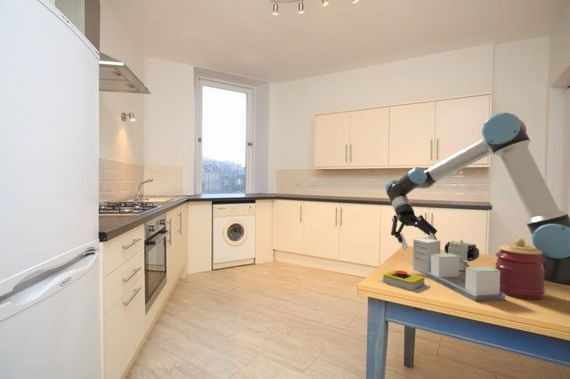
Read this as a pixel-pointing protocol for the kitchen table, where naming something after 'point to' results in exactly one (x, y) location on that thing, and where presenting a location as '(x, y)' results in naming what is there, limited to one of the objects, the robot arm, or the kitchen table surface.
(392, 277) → the emergency button
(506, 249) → the canister
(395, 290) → the kitchen table surface
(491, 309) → the kitchen table surface
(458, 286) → the mounting rail
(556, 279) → the robot arm
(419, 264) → the grey ridged module
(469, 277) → the grey module pair
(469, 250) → the pneumatic valve
